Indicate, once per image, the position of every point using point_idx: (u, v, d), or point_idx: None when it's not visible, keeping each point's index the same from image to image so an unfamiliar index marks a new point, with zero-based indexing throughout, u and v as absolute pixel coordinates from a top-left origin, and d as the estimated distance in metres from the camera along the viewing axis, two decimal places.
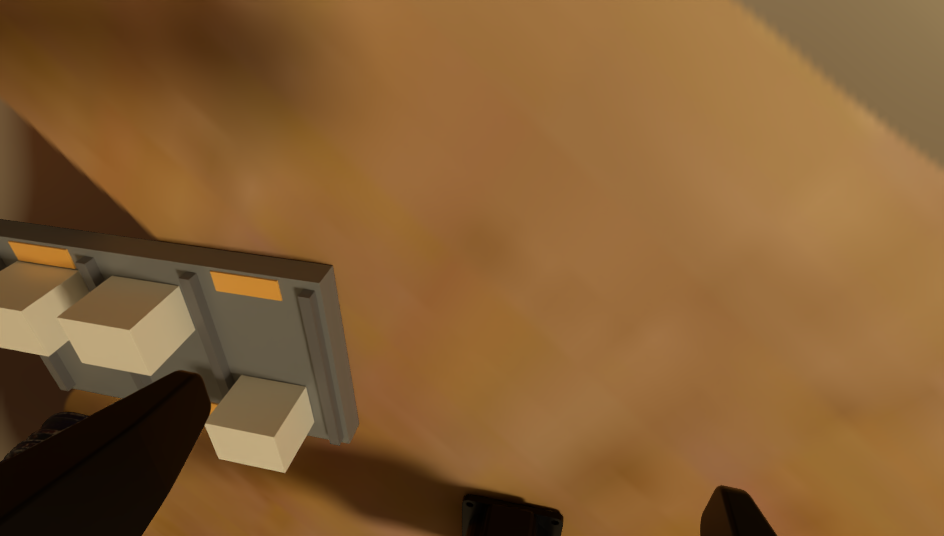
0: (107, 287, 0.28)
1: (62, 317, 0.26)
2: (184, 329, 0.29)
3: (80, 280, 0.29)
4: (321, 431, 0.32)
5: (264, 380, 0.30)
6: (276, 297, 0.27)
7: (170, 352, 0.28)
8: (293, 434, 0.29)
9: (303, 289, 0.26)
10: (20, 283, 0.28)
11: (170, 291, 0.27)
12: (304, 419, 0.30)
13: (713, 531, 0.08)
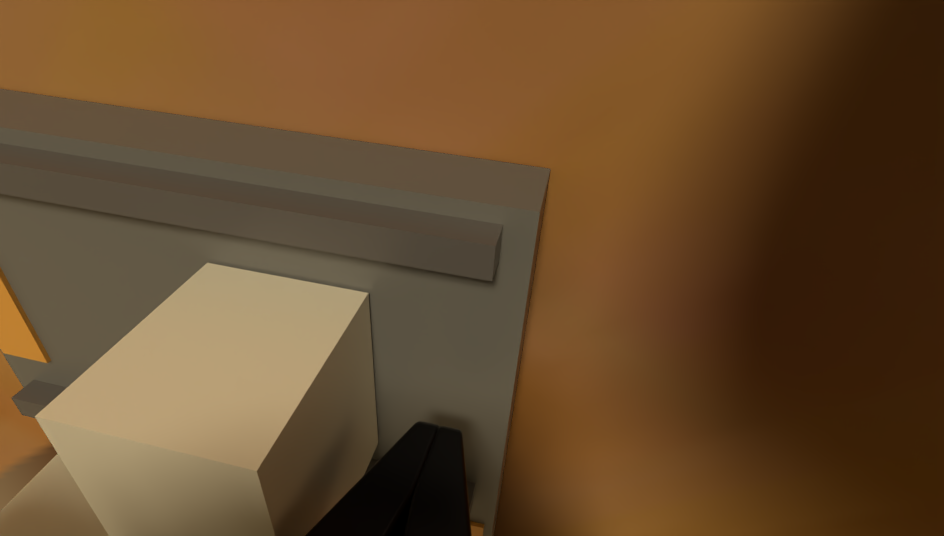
0: None
1: None
2: None
3: None
4: (484, 299, 0.09)
5: None
6: None
7: None
8: (220, 360, 0.08)
9: None
10: None
11: None
12: (276, 310, 0.09)
13: None
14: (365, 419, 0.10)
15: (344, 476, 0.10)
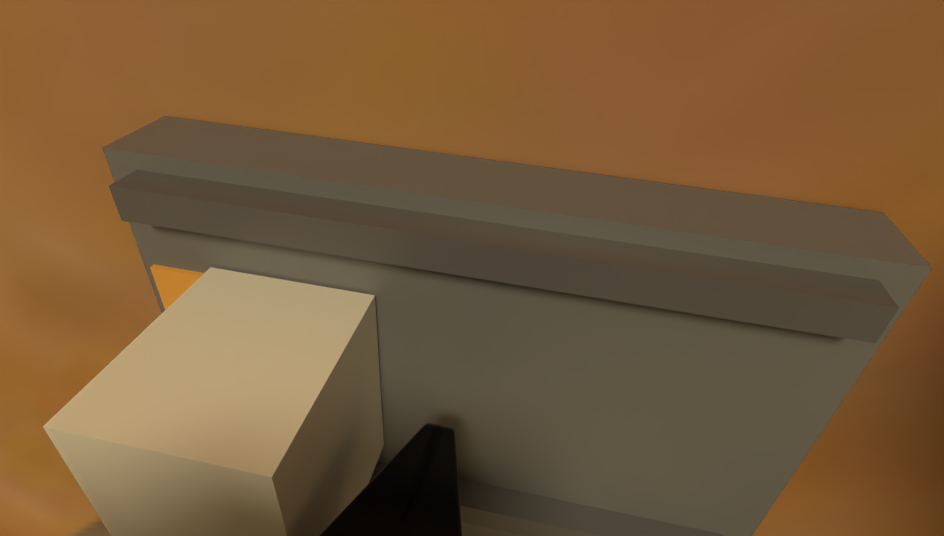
0: None
1: None
2: None
3: None
4: (819, 355, 0.08)
5: None
6: None
7: None
8: (228, 366, 0.08)
9: None
10: None
11: None
12: (283, 314, 0.09)
13: None
14: (372, 421, 0.10)
15: (352, 480, 0.09)
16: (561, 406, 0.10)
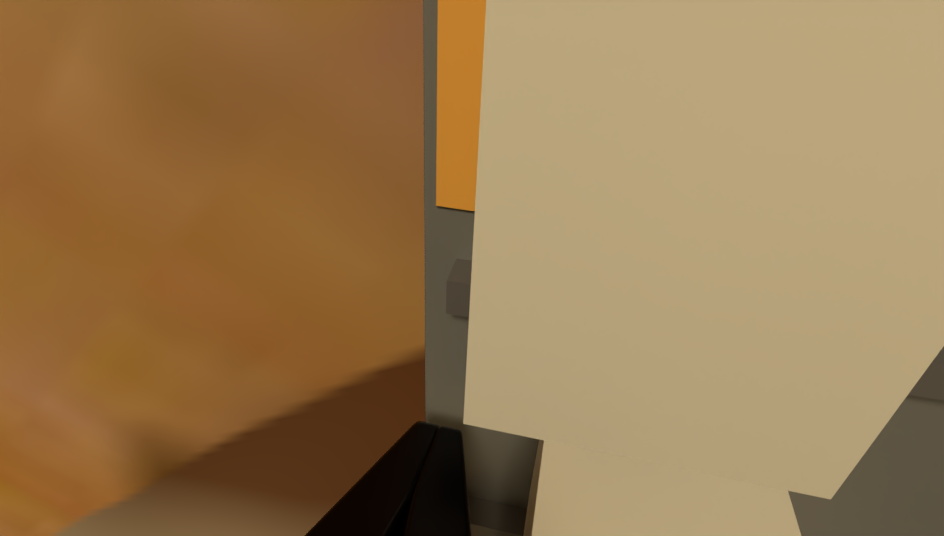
0: None
1: None
2: None
3: None
4: None
5: None
6: None
7: (777, 494, 0.07)
8: None
9: None
10: None
11: None
12: None
13: None
14: None
15: None
16: None
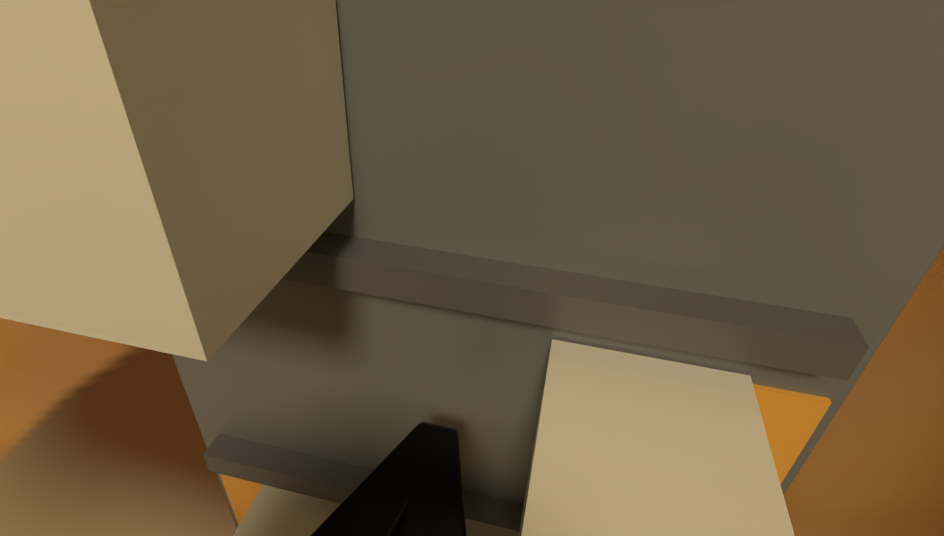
0: None
1: None
2: (714, 399, 0.08)
3: (283, 490, 0.13)
4: None
5: None
6: None
7: (770, 488, 0.07)
8: None
9: None
10: None
11: (547, 366, 0.08)
12: None
13: None
14: (329, 121, 0.07)
15: (291, 177, 0.06)
16: (614, 75, 0.06)
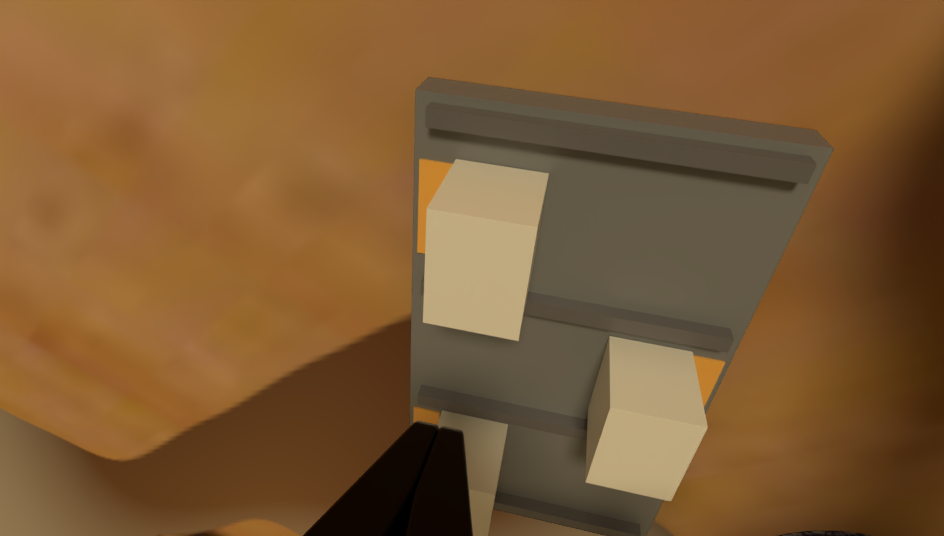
0: (589, 416, 0.21)
1: (586, 476, 0.19)
2: (677, 360, 0.19)
3: (452, 416, 0.24)
4: (783, 200, 0.16)
5: None
6: (448, 171, 0.18)
7: (696, 390, 0.18)
8: (493, 194, 0.15)
9: None
10: None
11: (608, 347, 0.20)
12: (506, 178, 0.16)
13: None
14: None
15: (530, 277, 0.17)
16: (643, 241, 0.18)
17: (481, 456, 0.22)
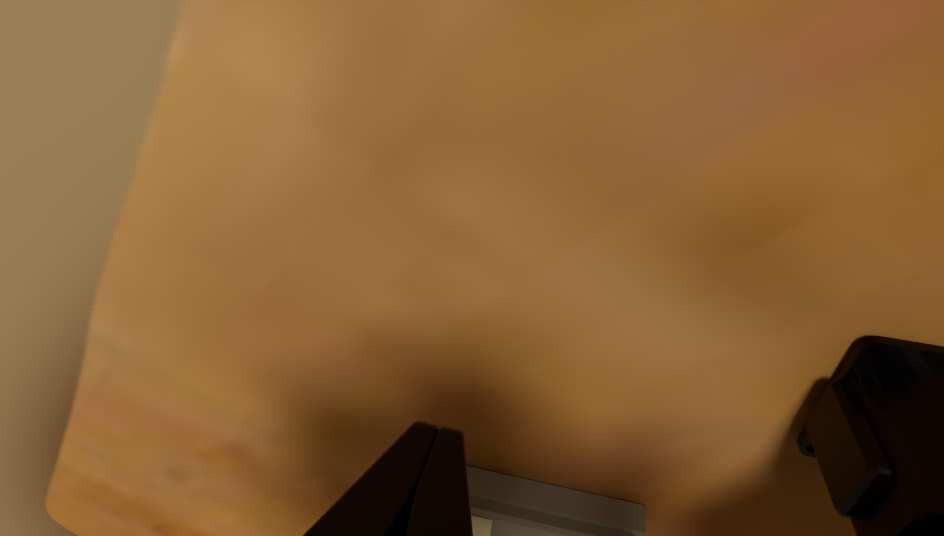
0: None
1: None
2: None
3: None
4: None
5: None
6: None
7: None
8: None
9: None
10: None
11: None
12: None
13: None
14: None
15: None
16: None
17: None
